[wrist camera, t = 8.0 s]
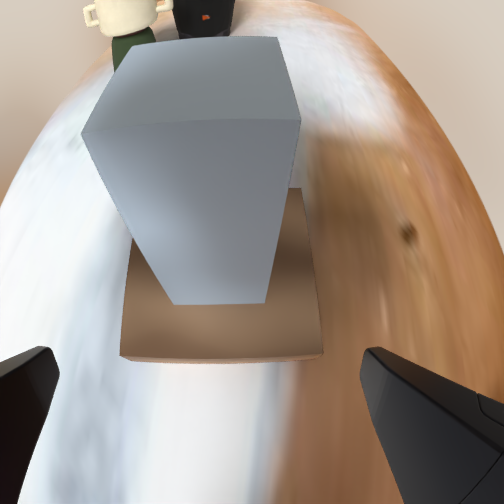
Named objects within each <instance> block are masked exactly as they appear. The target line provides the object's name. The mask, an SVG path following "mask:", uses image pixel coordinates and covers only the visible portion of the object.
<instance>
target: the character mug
mask: <svg viewBox="0 0 504 504" xmlns="http://www.w3.org/2000/svg"><path fill="white" fill-rule="evenodd" d="M164 1H165V5H160V6H157V3H156V0H94V4H91V5H88V6H86V7H84V8H83V14H84V18H85V22H86V25H87V27H88V28H92V27H96V26H100V30H101V32H102V34H103V35H104V36H107V37H109V36H110V37H111V36H112V37H113V40H112V55H113V65H114V72H115V71H116V70H117V68H118V67H119V65H120V64H121V62H122V60H123V59H124V57H125V56H126V54H127V53H128V52H129V50H130V49H131V47H132V46H136V45H142V44H148V43H155V42H156V40H155V37H154V34H153V31H152V29H151V28H150V27H149V26H150V25H152V24H153V23H154V22H155V21H156V20H157V17H158V13H159V12H166V11H170V10H172V9H173V0H164ZM94 10H96V13H97V17H98V19H97V20H92V16H91V11H94Z"/></svg>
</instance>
